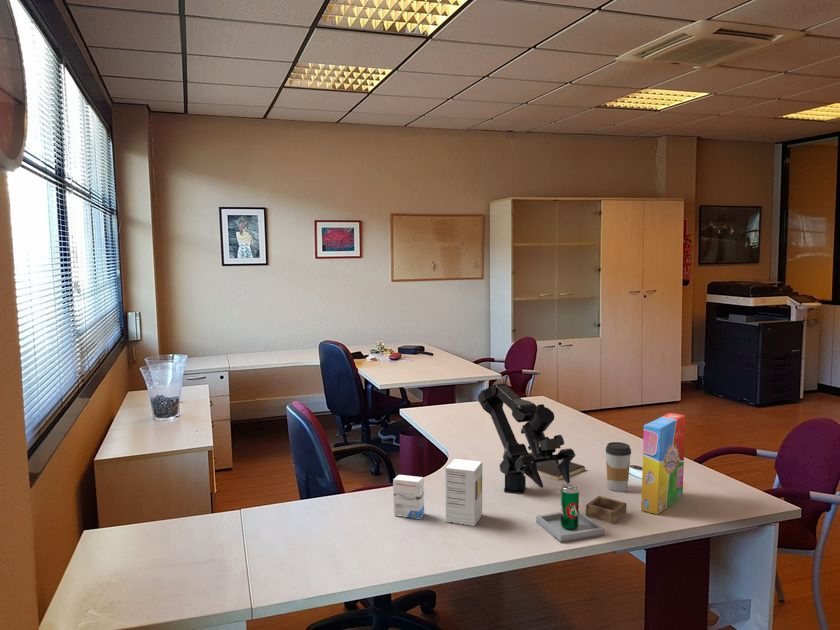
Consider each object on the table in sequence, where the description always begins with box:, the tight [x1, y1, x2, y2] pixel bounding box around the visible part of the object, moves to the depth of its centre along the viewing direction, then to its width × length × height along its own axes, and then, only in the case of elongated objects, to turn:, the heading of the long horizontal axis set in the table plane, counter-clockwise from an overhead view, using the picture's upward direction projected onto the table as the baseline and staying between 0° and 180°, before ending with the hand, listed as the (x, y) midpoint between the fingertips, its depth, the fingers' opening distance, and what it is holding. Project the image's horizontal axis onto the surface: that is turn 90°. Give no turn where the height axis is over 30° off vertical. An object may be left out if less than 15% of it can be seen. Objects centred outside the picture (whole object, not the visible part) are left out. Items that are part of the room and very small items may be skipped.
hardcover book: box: [528, 451, 586, 481], centre depth 236 cm, size 16×23×2 cm
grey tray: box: [535, 510, 605, 544], centre depth 183 cm, size 14×14×2 cm
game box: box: [640, 412, 686, 515], centre depth 200 cm, size 21×6×27 cm, turn 137°
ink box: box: [392, 474, 425, 519], centre depth 194 cm, size 8×5×12 cm, turn 71°
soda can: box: [560, 483, 580, 530], centre depth 183 cm, size 5×5×12 cm
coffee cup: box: [605, 441, 632, 493], centre depth 213 cm, size 8×8×15 cm
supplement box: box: [444, 458, 483, 527], centre depth 191 cm, size 10×9×17 cm
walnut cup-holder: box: [585, 495, 628, 525], centre depth 193 cm, size 9×9×4 cm
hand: (555, 485), depth 189 cm, fingers open, 9 cm apart
